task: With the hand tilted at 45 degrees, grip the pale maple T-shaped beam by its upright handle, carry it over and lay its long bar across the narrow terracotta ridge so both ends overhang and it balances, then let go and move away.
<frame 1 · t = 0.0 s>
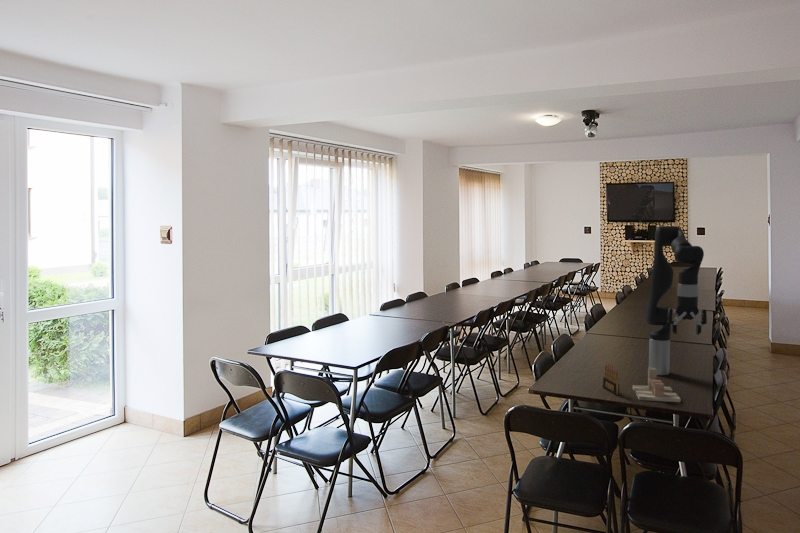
hand: (686, 333, 225), 29 cm above the table, tool pointing down, fingers open, 8 cm apart
ammunition clip: (610, 391, 244), on the table
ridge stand: (657, 398, 234), on the table
maple T-beam: (651, 390, 245), on the table
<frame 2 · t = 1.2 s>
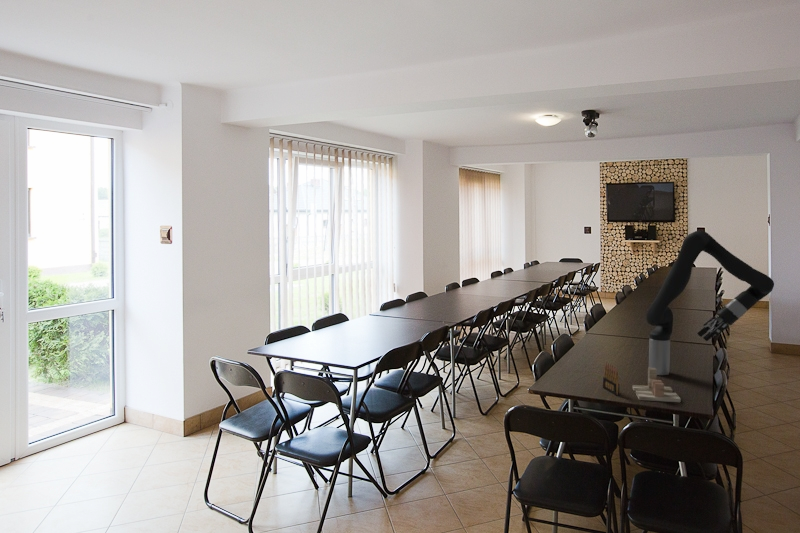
hand: (701, 337, 238), 25 cm above the table, tool tilted 45°, fingers open, 8 cm apart
nothing on the table moved.
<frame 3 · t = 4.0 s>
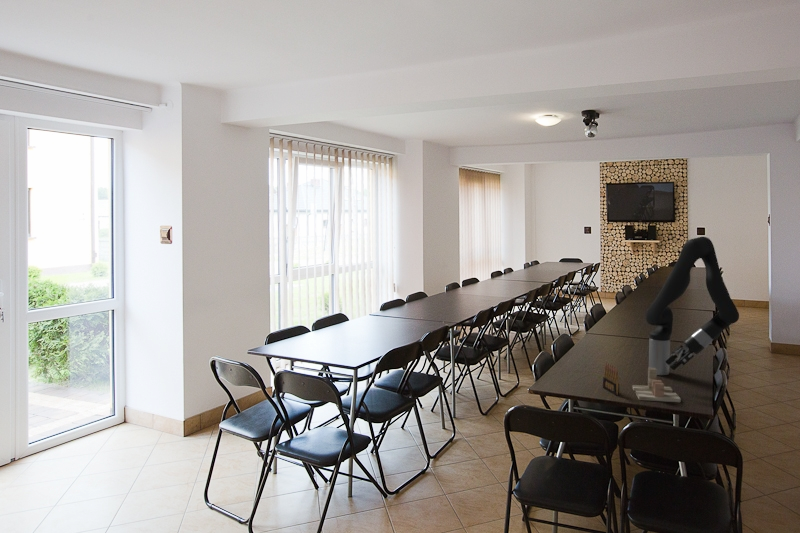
hand: (669, 365, 242), 11 cm above the table, tool tilted 45°, fingers open, 8 cm apart
nothing on the table moved.
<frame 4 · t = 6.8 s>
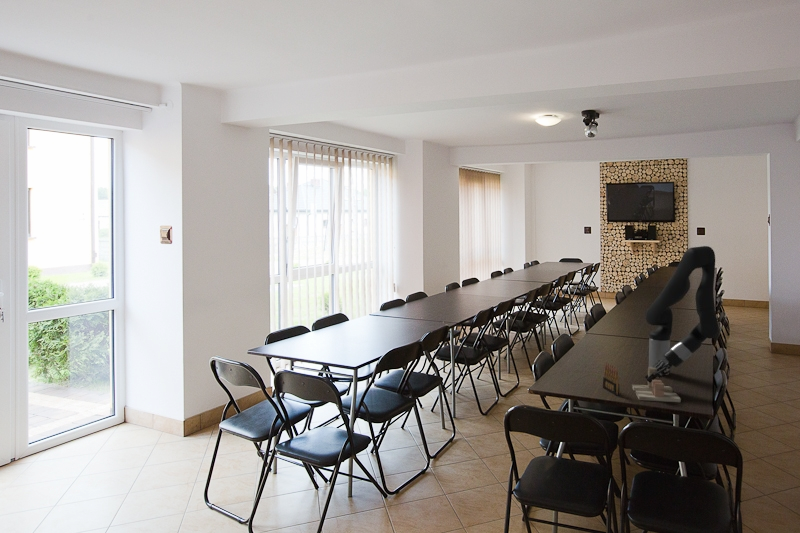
hand: (647, 379, 245), 5 cm above the table, tool tilted 45°, fingers closed on maple T-beam, 3 cm apart
maple T-beam: (651, 390, 245), on the table, touching gripper
everything else where it was.
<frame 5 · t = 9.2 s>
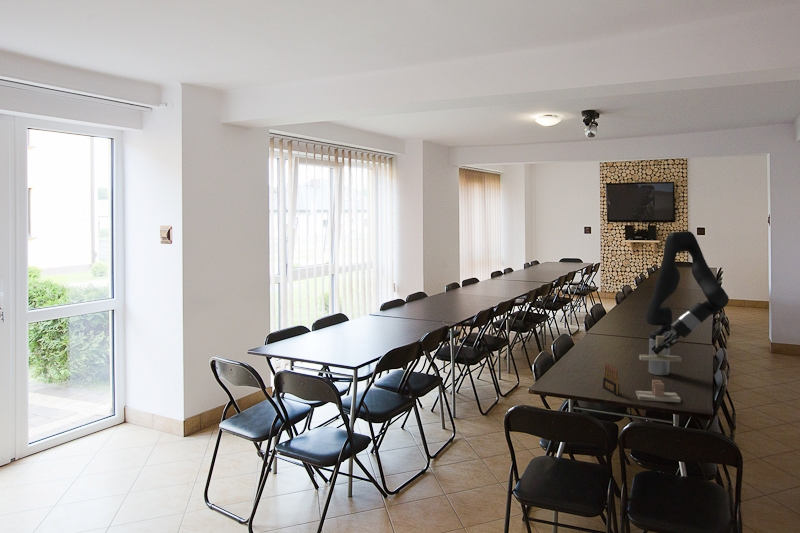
hand: (654, 351, 233), 20 cm above the table, tool tilted 45°, fingers closed on maple T-beam, 3 cm apart
maple T-beam: (659, 359, 233), point 17 cm above the table, touching gripper
everything else where it was.
when the fingers open (12 cm above the table, at t = 12.1 s): maple T-beam drops 2 cm, resting on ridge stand.
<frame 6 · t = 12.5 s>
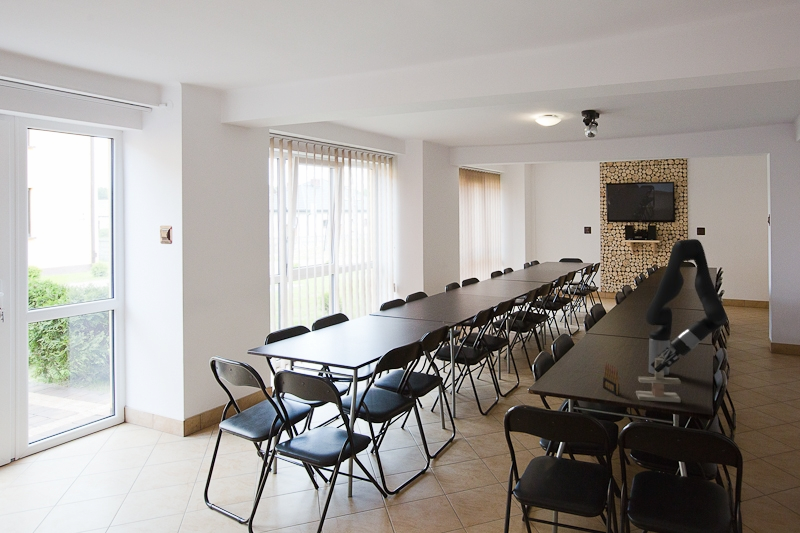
hand: (654, 368, 233), 13 cm above the table, tool tilted 45°, fingers open, 6 cm apart
maple T-beam: (658, 382, 234), point 7 cm above the table, touching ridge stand
everything else where it was.
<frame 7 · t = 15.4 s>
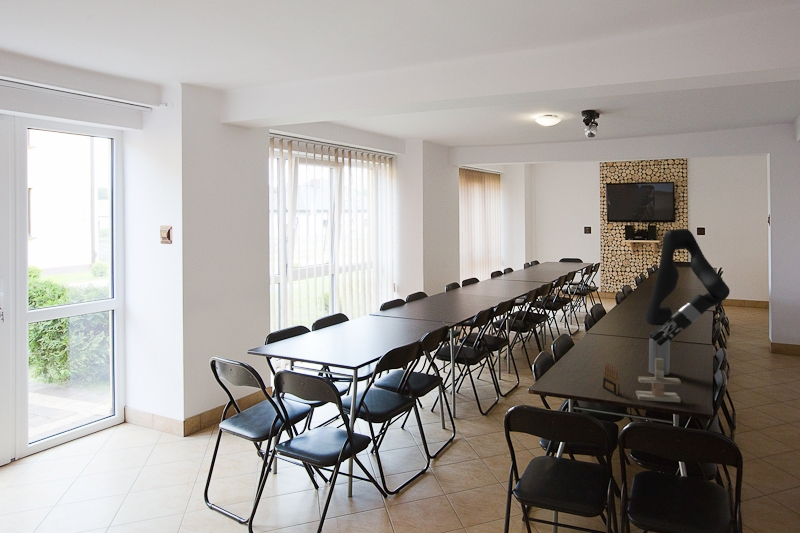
hand: (655, 341, 232), 24 cm above the table, tool tilted 45°, fingers open, 8 cm apart
nothing on the table moved.
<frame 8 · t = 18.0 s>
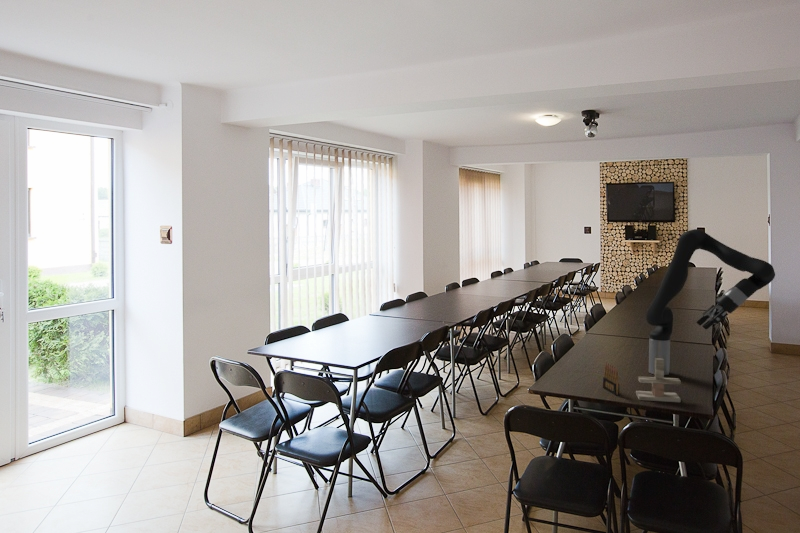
hand: (700, 325, 233), 31 cm above the table, tool tilted 45°, fingers open, 8 cm apart
nothing on the table moved.
at the end: maple T-beam 0.4 cm off-centre on the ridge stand, point 7.0 cm above the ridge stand's base; maple T-beam tilted 0°; the gripper is holding nothing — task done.
